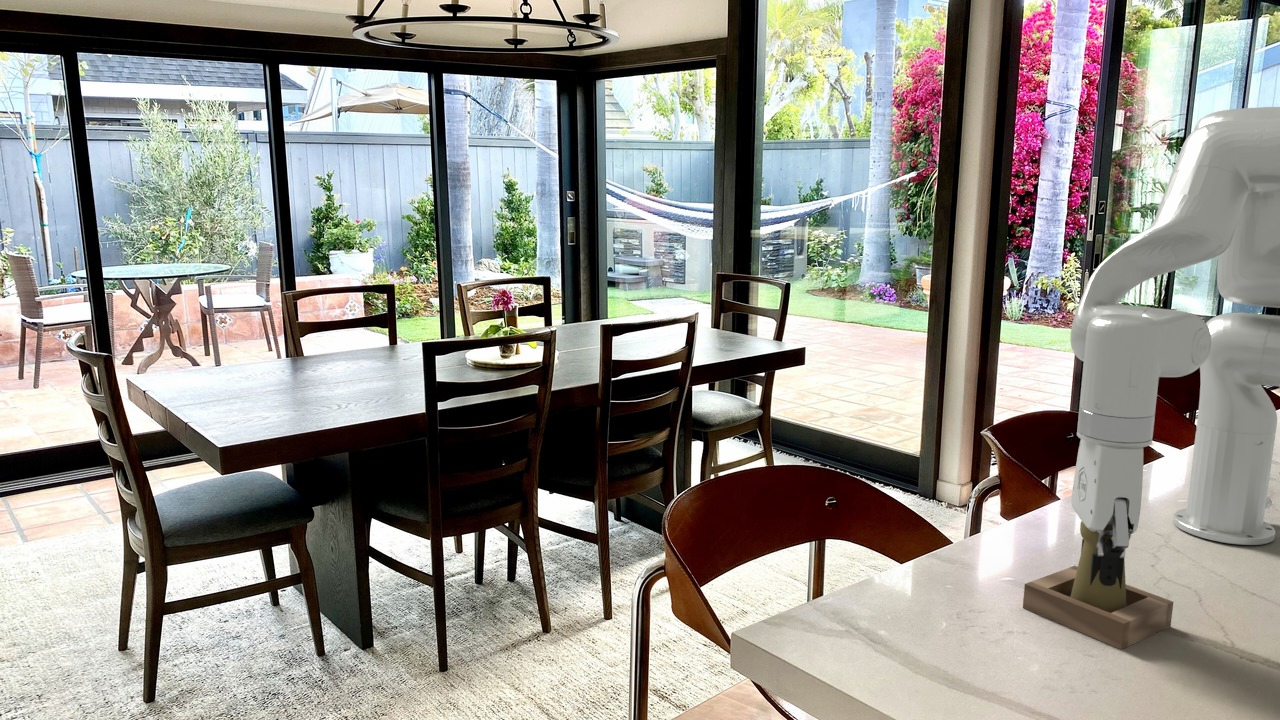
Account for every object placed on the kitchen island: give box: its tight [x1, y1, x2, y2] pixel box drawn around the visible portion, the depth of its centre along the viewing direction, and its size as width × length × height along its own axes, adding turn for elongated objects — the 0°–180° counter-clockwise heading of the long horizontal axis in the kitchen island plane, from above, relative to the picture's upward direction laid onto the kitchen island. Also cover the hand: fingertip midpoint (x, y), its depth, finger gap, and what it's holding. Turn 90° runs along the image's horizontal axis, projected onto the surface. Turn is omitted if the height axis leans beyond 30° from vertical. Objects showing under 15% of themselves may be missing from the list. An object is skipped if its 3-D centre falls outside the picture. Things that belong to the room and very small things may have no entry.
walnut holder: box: [1022, 565, 1174, 650], centre depth 108 cm, size 10×12×3 cm
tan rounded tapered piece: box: [1070, 520, 1132, 613], centre depth 107 cm, size 6×6×11 cm
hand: (1099, 579), depth 108 cm, fingers open, 3 cm apart
